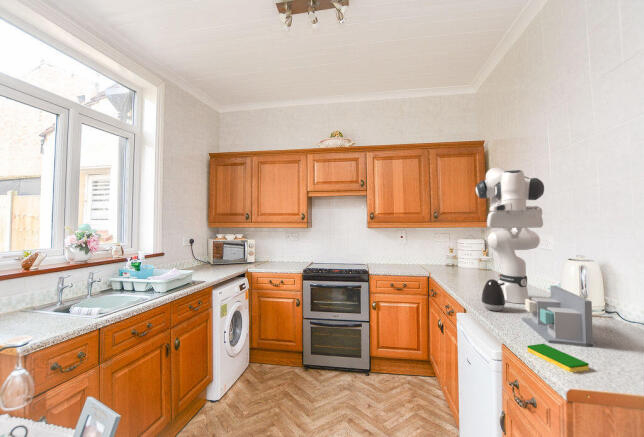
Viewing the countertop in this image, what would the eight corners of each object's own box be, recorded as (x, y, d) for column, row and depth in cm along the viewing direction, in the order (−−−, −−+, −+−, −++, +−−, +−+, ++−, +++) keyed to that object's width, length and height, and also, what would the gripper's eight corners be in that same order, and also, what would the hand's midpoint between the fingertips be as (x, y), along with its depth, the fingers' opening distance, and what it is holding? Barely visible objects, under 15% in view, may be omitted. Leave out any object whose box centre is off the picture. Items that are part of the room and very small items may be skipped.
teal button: (545, 324, 102) (545, 312, 102) (540, 320, 107) (539, 308, 107) (572, 326, 100) (572, 314, 100) (565, 322, 104) (565, 310, 104)
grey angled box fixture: (548, 342, 100) (547, 299, 100) (522, 319, 123) (521, 284, 123) (596, 347, 96) (595, 301, 96) (559, 322, 118) (558, 285, 119)
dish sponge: (570, 374, 80) (570, 366, 80) (526, 352, 94) (526, 345, 94) (589, 371, 82) (589, 363, 82) (543, 350, 95) (543, 343, 95)
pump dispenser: (500, 314, 130) (500, 282, 130) (478, 309, 138) (477, 279, 139) (509, 310, 136) (508, 279, 136) (487, 305, 144) (486, 276, 145)
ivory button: (529, 312, 116) (529, 301, 116) (525, 308, 120) (525, 298, 120) (552, 313, 113) (552, 303, 113) (547, 310, 117) (547, 300, 118)
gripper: (538, 206, 119) (539, 237, 119) (485, 207, 125) (486, 237, 125) (545, 205, 113) (546, 238, 113) (489, 207, 119) (490, 238, 119)
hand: (514, 238), depth 119 cm, fingers closed
